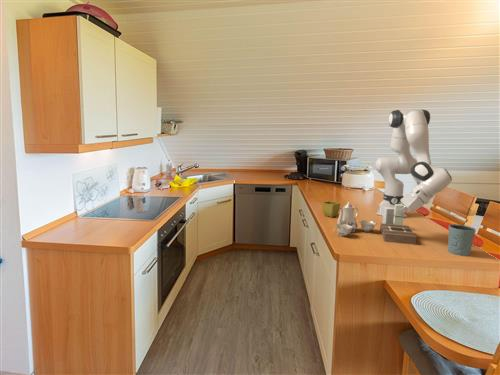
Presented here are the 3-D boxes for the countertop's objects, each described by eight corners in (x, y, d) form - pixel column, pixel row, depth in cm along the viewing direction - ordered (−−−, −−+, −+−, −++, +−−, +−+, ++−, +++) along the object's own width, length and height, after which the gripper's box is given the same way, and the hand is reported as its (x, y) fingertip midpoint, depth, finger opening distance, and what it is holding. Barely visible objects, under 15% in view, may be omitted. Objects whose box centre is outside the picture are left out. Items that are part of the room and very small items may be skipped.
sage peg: (393, 222, 165) (394, 203, 164) (401, 223, 164) (403, 204, 163) (394, 224, 162) (396, 205, 160) (402, 225, 160) (404, 206, 159)
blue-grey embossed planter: (448, 254, 141) (451, 228, 139) (443, 247, 150) (446, 223, 148) (475, 258, 137) (478, 231, 135) (468, 250, 146) (471, 225, 144)
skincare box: (391, 227, 181) (393, 207, 179) (395, 229, 177) (397, 209, 175) (381, 227, 181) (383, 207, 179) (384, 229, 177) (386, 208, 175)
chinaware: (344, 243, 158) (349, 212, 154) (320, 231, 171) (325, 202, 167) (378, 234, 173) (384, 206, 169) (354, 224, 187) (359, 197, 182)
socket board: (380, 230, 176) (380, 222, 175) (407, 232, 172) (408, 225, 171) (384, 241, 157) (385, 233, 156) (415, 244, 153) (416, 236, 152)
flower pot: (332, 218, 198) (332, 204, 197) (320, 215, 205) (321, 202, 203) (339, 216, 204) (340, 203, 202) (328, 213, 210) (329, 200, 209)
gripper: (411, 186, 168) (390, 203, 172) (420, 193, 149) (396, 211, 153) (420, 195, 167) (398, 211, 172) (430, 202, 148) (405, 221, 152)
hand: (397, 211), depth 162 cm, fingers closed on sage peg, 4 cm apart
